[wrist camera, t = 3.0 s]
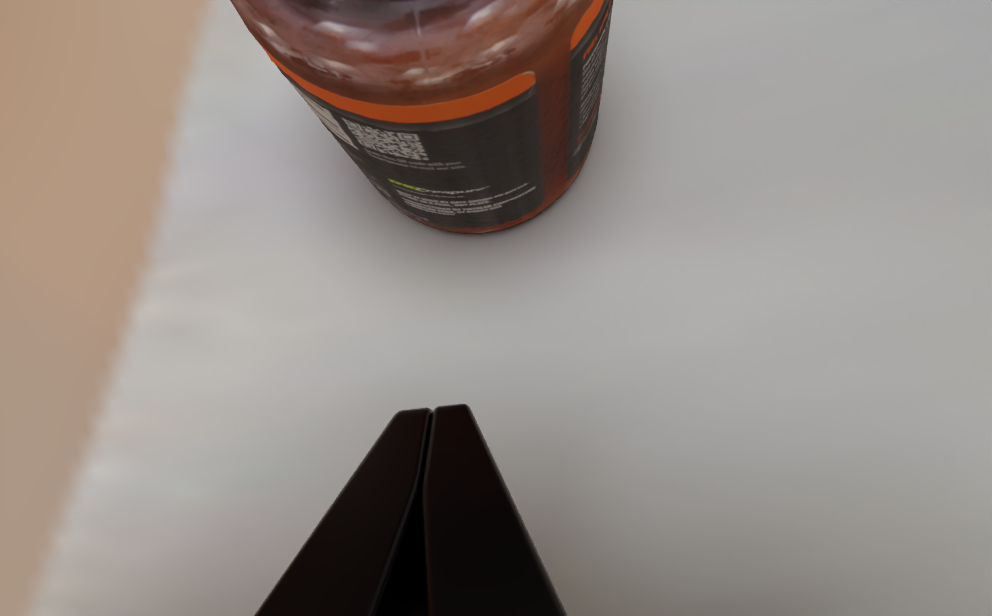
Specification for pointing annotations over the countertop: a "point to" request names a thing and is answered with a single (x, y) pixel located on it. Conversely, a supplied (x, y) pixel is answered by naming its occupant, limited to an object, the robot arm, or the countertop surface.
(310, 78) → the supplement bottle
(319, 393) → the countertop surface
